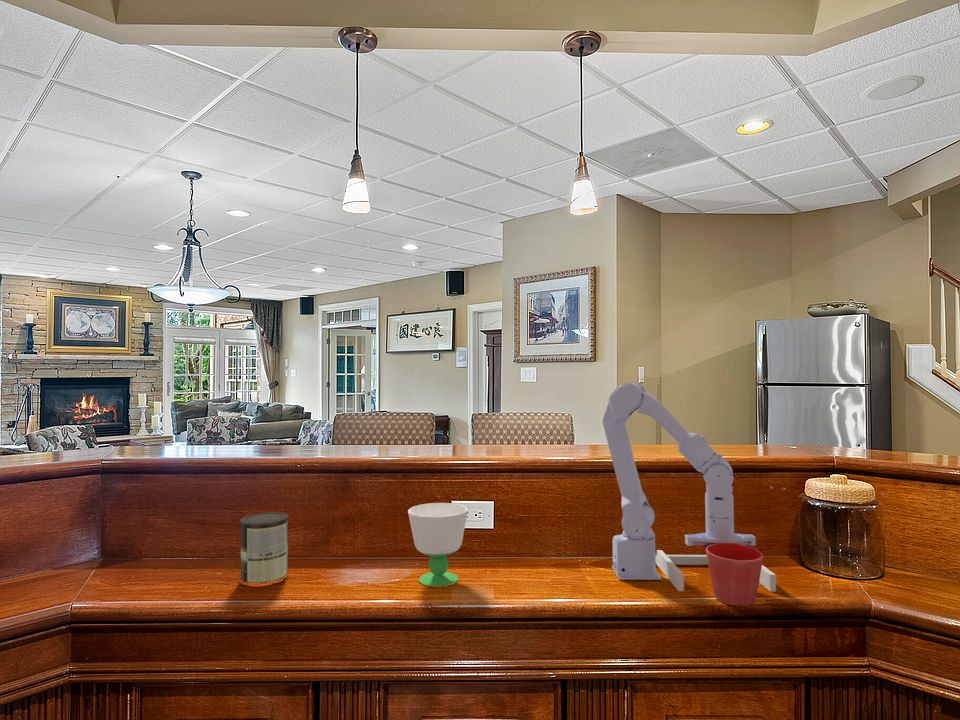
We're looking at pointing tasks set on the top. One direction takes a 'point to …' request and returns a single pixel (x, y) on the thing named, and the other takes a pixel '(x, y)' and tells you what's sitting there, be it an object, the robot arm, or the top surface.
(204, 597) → the top surface
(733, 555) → the flower pot
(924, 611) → the top surface
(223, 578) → the top surface
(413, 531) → the cup
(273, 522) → the coffee can
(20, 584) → the top surface
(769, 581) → the u-shaped frame
